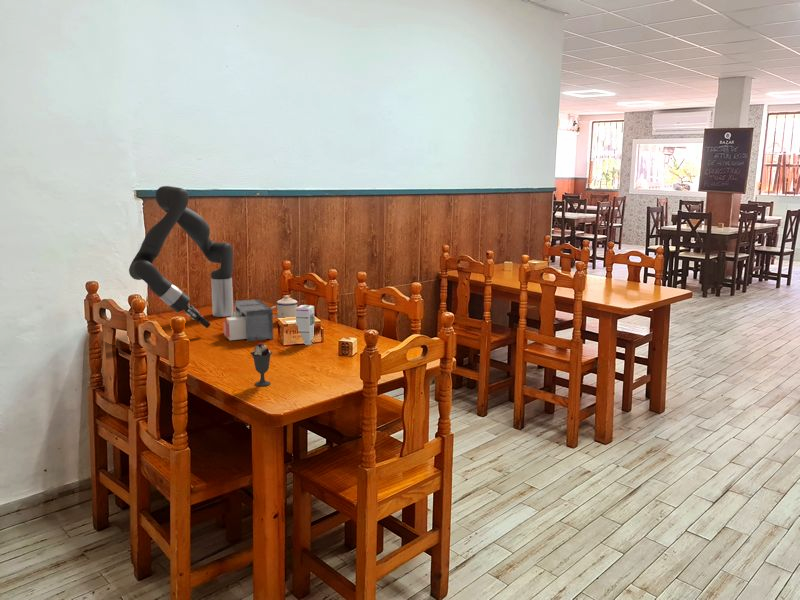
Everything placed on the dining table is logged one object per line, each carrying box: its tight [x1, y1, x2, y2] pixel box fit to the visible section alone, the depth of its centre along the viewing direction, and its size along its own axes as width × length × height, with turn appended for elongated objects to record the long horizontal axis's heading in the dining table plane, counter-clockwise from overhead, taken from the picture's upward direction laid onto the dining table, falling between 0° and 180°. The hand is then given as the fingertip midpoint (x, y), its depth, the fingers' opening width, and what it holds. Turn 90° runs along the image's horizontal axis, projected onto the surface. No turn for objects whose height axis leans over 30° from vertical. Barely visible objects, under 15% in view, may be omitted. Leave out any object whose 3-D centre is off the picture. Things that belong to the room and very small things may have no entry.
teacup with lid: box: [270, 295, 299, 319], centre depth 284 cm, size 12×9×12 cm
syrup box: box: [295, 304, 316, 346], centre depth 249 cm, size 6×6×14 cm
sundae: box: [249, 337, 273, 388], centre depth 200 cm, size 7×7×15 cm
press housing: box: [234, 298, 274, 342], centre depth 262 cm, size 23×10×12 cm, turn 25°
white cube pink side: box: [223, 316, 247, 341], centre depth 255 cm, size 5×9×8 cm, turn 115°
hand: (208, 326), depth 259 cm, fingers closed
